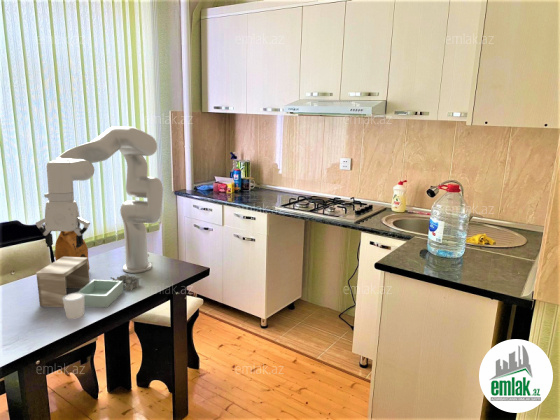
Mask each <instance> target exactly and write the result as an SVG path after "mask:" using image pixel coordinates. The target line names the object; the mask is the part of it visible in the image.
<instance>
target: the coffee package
mask: <svg viewBox="0 0 560 420" xmlns="http://www.w3.org/2000/svg"><path fill="white" fill-rule="evenodd" d="M76 236H77V234H76V233H75V232H74V231H59V235H58V237H57V238H56V242H55V246H54V255H55V261H56V260H58V259H60V258H62V257H84V258H88V266H89V270H90V262H89V249H88V245H87V243H86V240H85V239H84V238H83V244H82V245H81V246H80V247H77V245H76Z"/></svg>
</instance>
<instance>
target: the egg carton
mask: <svg viewBox="0 0 560 420" xmlns="http://www.w3.org/2000/svg"><path fill="white" fill-rule="evenodd" d="M110 279H111V280H114V281H123V290H124V291H133V288H139V287H140V282H139V280H140V279H141V277H135V276H133V275H129V274H127V273H126V274H122V275H120V276H117V277H116V278H115V277H110Z"/></svg>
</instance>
